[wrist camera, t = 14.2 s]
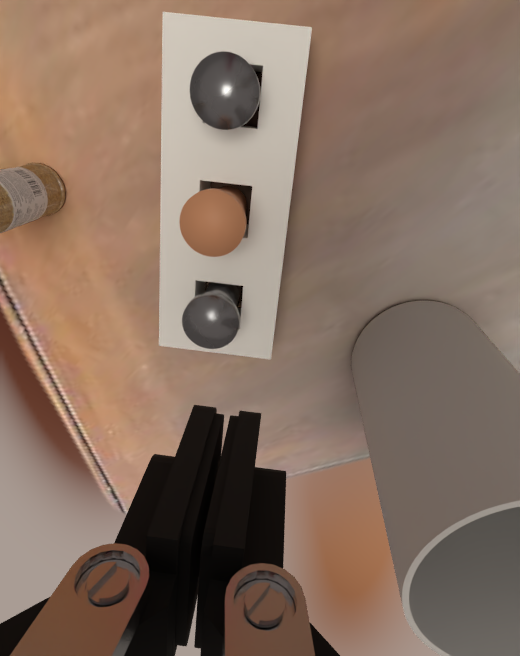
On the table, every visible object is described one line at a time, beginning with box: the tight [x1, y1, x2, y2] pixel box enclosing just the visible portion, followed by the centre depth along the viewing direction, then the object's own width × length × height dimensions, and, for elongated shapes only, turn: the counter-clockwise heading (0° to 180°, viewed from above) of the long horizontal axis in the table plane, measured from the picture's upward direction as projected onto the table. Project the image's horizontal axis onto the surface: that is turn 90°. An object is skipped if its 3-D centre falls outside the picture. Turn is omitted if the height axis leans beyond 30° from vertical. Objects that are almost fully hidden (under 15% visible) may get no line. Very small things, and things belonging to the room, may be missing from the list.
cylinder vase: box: [351, 301, 520, 656], centre depth 34 cm, size 12×12×25 cm
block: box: [159, 12, 312, 359], centre depth 38 cm, size 10×25×5 cm, turn 174°
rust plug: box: [179, 186, 247, 257], centre depth 35 cm, size 4×4×8 cm
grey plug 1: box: [190, 51, 260, 130], centre depth 33 cm, size 4×4×8 cm
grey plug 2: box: [182, 282, 241, 349], centre depth 39 cm, size 4×4×8 cm
